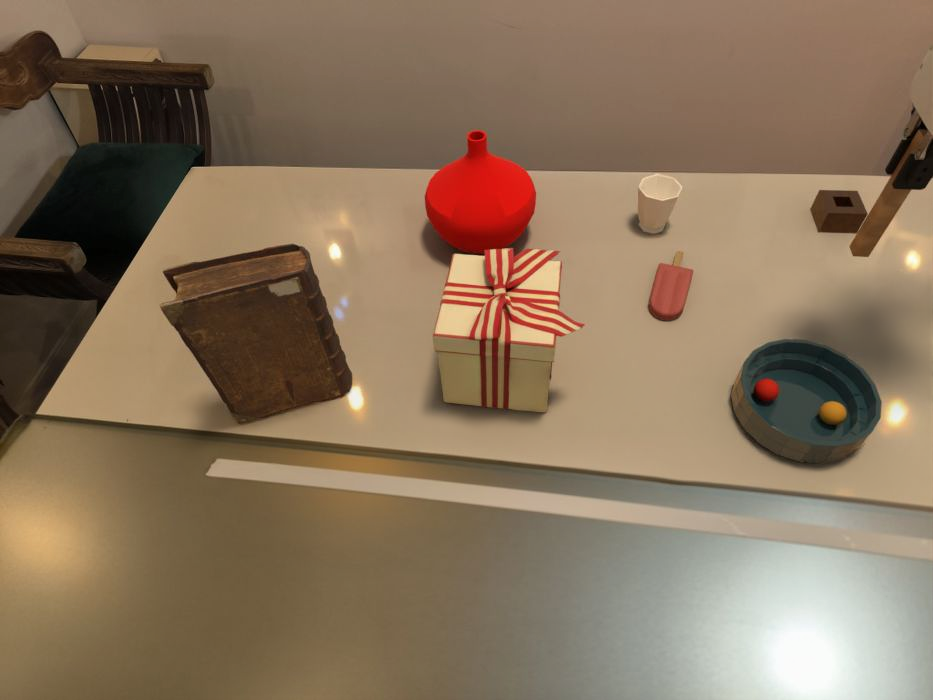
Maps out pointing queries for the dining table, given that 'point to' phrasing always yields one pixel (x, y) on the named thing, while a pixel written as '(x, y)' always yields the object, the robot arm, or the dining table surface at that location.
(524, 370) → the gift box
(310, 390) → the book
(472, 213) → the vase
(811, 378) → the bowl
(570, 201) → the dining table surface
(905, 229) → the dining table surface
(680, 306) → the popsicle
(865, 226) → the stick
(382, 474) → the dining table surface
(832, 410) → the ochre ball
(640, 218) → the cup
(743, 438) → the dining table surface
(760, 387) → the red ball
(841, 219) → the holder
